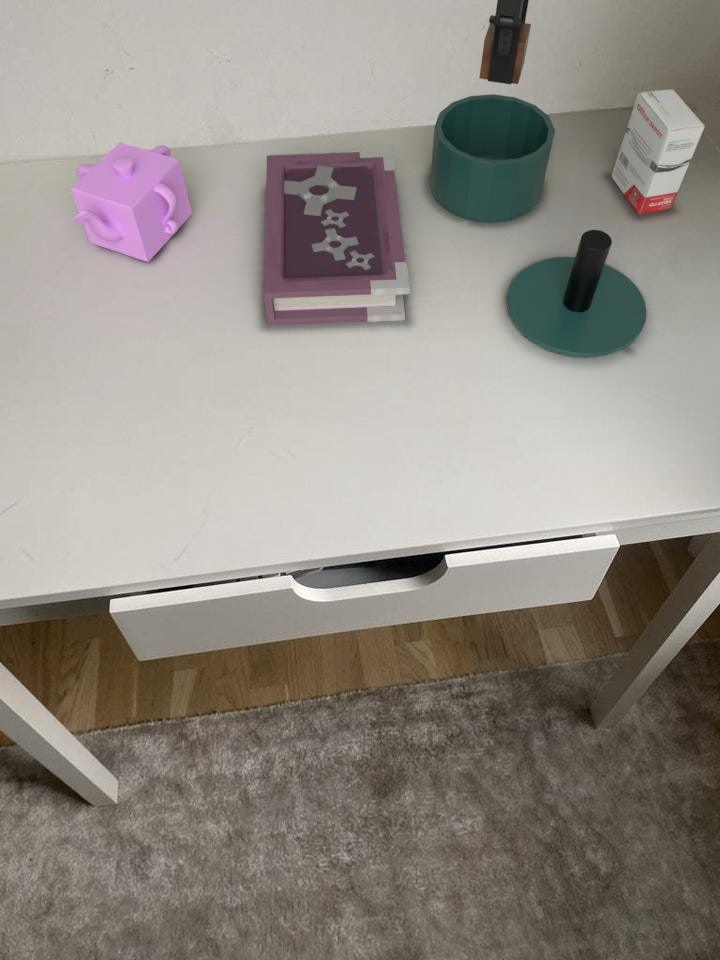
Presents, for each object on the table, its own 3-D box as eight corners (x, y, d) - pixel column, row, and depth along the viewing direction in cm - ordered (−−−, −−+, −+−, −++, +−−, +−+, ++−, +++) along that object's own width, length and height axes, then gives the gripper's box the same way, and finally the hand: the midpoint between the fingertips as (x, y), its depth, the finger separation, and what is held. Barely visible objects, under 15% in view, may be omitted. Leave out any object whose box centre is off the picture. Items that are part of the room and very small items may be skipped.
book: (407, 320, 88) (409, 287, 84) (268, 326, 88) (263, 293, 84) (391, 183, 102) (392, 149, 98) (271, 187, 102) (266, 154, 97)
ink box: (672, 209, 99) (707, 124, 89) (637, 216, 98) (668, 130, 88) (643, 170, 103) (673, 85, 93) (609, 176, 103) (636, 90, 93)
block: (523, 63, 89) (531, 23, 86) (518, 84, 87) (525, 44, 83) (486, 58, 90) (491, 18, 86) (479, 78, 88) (484, 38, 84)
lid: (647, 277, 92) (676, 205, 83) (638, 373, 84) (669, 304, 75) (517, 254, 94) (532, 182, 86) (495, 345, 86) (510, 276, 77)
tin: (547, 163, 104) (561, 103, 97) (532, 231, 97) (545, 171, 89) (443, 147, 106) (448, 87, 99) (420, 212, 99) (424, 152, 92)
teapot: (142, 297, 90) (119, 227, 82) (47, 264, 94) (16, 193, 85) (220, 209, 99) (206, 137, 91) (131, 181, 102) (110, 109, 94)
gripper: (516, -224, 74) (484, 27, 93) (485, -157, 65) (457, 106, 84) (594, -218, 73) (546, 35, 92) (573, -149, 64) (524, 116, 83)
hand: (503, 68), depth 88 cm, fingers closed on block, 4 cm apart
